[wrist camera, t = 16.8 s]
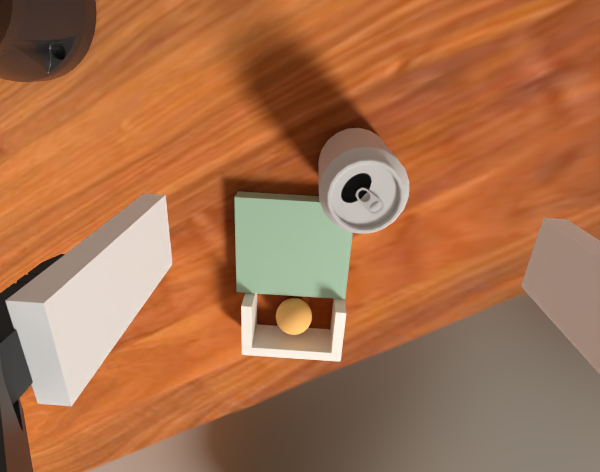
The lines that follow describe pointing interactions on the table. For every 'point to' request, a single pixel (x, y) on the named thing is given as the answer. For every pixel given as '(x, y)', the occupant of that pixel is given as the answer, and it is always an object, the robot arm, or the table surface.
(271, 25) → the table surface
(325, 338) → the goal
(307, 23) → the table surface
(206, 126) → the table surface
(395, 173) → the can
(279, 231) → the board
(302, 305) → the ball
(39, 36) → the robot arm
